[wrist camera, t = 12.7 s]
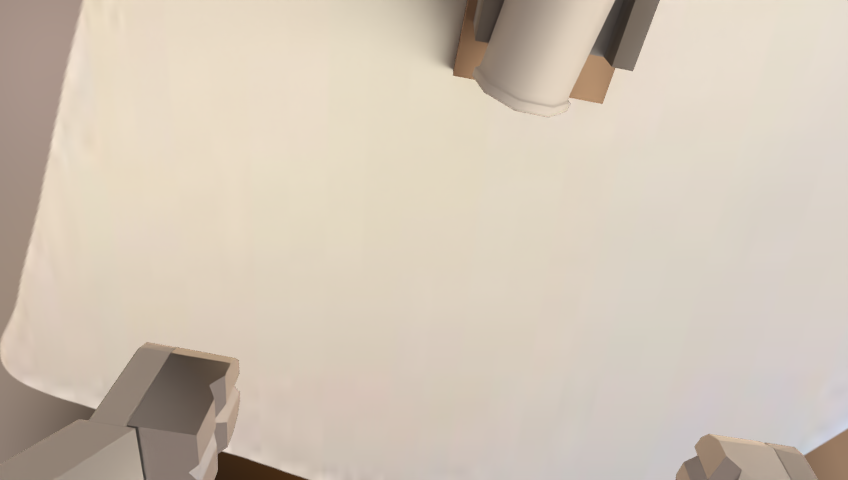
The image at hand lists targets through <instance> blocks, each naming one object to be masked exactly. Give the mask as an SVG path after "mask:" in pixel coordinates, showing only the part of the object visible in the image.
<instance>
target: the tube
mask: <svg viewBox="0 0 848 480" xmlns="http://www.w3.org/2000/svg"><path fill="white" fill-rule="evenodd" d="M614 2H615V0H504V3H503V6H502V8H501V11H500V14H499V17H498V19H497V22H496V25H495V27H494V30H493V33H492V35H491V38H490V41H489V43H488V46H487V49H486V52H485V54H484V57H483V60H482V62H481V64H480V66H477V67H475V68H474V71H473V73H472V76H473V77H474V79H475V80H476V82H477V83H478V84H479V86H480V87H481V89H482V90H483V92H484V93H486V94H488V95H489V96H491V97H493V98H494V99H496V100H498V101H500V102H501V103H503V104H505V105H506V106H508V107H510V108H511V109H513V110H515V111H519V112H524V113H529V114H534V115H540V116H545V117H551V116H554V115H557V114H560V113H563V112H566V111H567V110H568V108H569V105H570V102H569V101H568V98H569V96H570V93H571V91H572V89H573V87H574V85H575V83H576V81H577V78H578V76H579V74H580V72H581V70H582V68H583V66H584V64H585V62H586V60H587V58H588V56H589V53H590V51H591V49H592V47H593V45H594V43H595V41H596V39H597V37H598V35H599V33H600V31H601V29H602V26H603V24H604V22H605V20H606V18H607V16H608V14H609V12H610V10H611V8H612V6H613V4H614Z"/></svg>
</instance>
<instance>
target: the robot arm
mask: <svg viewBox="0 0 848 480" xmlns="http://www.w3.org/2000/svg"><path fill="white" fill-rule="evenodd" d="M239 374H240V373H239V360H238V359H236V358H232V357H227V356H222V355H216V354H211V353H206V352H200V351H195V350H190V349H184V348H179V347H171V346H166V345H160V344H155V343H149V342H147V343H145V344H144V345H143V346H141V347H140V348H139V349H138V350H137V351H136V353H135V354H134V356H133V357H132V358H131V360H130V361H129V363H128V364H127V366H126V367H125V369H124V370H123V371H122V373H121V374H120V376H119V377H118V379H117V380H116V382H115V383H114V385H113V386H112V387H111V389H110V390H109V392H108V393H107V395H106V396H105V398H104V399H103V401H102V402H101V403H100V405H99V406H98V408H97V409H96V411H95V412H94V414H93V415H92V417H91V418H90V419H89V421H87V420H77V421H75V422H74V423H72V424H70V425H68V426H66V427H65V428H63V429H61V430H59V431H58V432H56V433H54V434H53V435H51V436H49V437H47V438H45V439H44V440H42V441H40V442H38V443H36V444H35V445H33V446H31V447H29V448H28V449H26V450H24V451H22V452H21V453H19V454H17V455H15V456H14V457H12V458H10V459H8V460H7V461H5V462H3V463H1V464H0V480H214V478H215V476H216V474H217V471H218V463H217V454H218V453H220V452H221V451H222V450H224V449H225V448H227V447H228V444H229V442H230V439H231V437H232V434H233V431H234V428H235V424H236V420H237V416H238V411H239V403H240V392H239V390H238V389H237V388H236V387H235V386H234V385H235V383H236V381H237V378H238V376H239ZM695 450H696V453H697V456H696V457H694V458H692V459H690V460H687V461H685V462H684V463H683V464H682V466H681V468H680V469H679V471H678V472H677V474H676V480H818V479H817V477H816V475H815V474H814V472H813V470H812V469H811V467H810V465H809V464H808V462H807V460H806V459H805V457H804V455H803V454H802V453H801V452H800V451H798V450H797V449H796V448H795V447H790V446H784V445H777V444H771V443H762V442H760V441H753V440H747V439H740V438H733V437H727V436H720V435H713V434H707V435H705V436H703V437H701V438H700V440H699V441H698V442H697V444H696V445H695Z"/></svg>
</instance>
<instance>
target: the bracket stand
mask: <svg viewBox="0 0 848 480" xmlns="http://www.w3.org/2000/svg"><path fill="white" fill-rule="evenodd" d="M659 1H660V0H615V2H614V4H613V6H612V8H611V10H610V12H609V14H608V16H607V18H606V20H605V22H604V24H603V26H602V29H601V31H600V33H599V35H598V37H597V39H596V41H595V43H594V45H593V47H592V49H591V51H590V53H589V56H588V58H587V60H586V62H585V64H584V66H583V68H582V70H581V72H580V74H579V76H578V78H577V81H576V83H575V85H574V87H573V89H572V91H571V93H570V96H569V98H575V99H580V100H585V101H590V102H596V103H601V104H602V103H603V101H604V98H605V95H606V92H607V90H608V87H609V84H610V81H611V78H612V76H613V73H614V70H615V68H620V69H625V70H630V71H633V69H634V67H635V64H636V61H637V59H638V56H639V53H640V51H641V48H642V46H643V43H644V40H645V38H646V35H647V32H648V30H649V27H650V24H651V22H652V19H653V16H654V14H655V11H656V8H657V6H658V3H659ZM503 3H504V0H467V5H466V10H465V15H464V20H463V25H462V30H461V35H460V40H459V45H458V50H457V55H456V60H455V65H454V70H453V76H458V77H464V78H469V79H474V77H473V76H472V73H473V71H474V68H475V67H477V66H480V64H481V62H482V60H483V57H484V54H485V52H486V49H487V46H488V43H489V41H490V38H491V35H492V33H493V30H494V27H495V25H496V22H497V19H498V17H499V14H500V11H501V8H502V6H503ZM474 80H475V79H474Z"/></svg>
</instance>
